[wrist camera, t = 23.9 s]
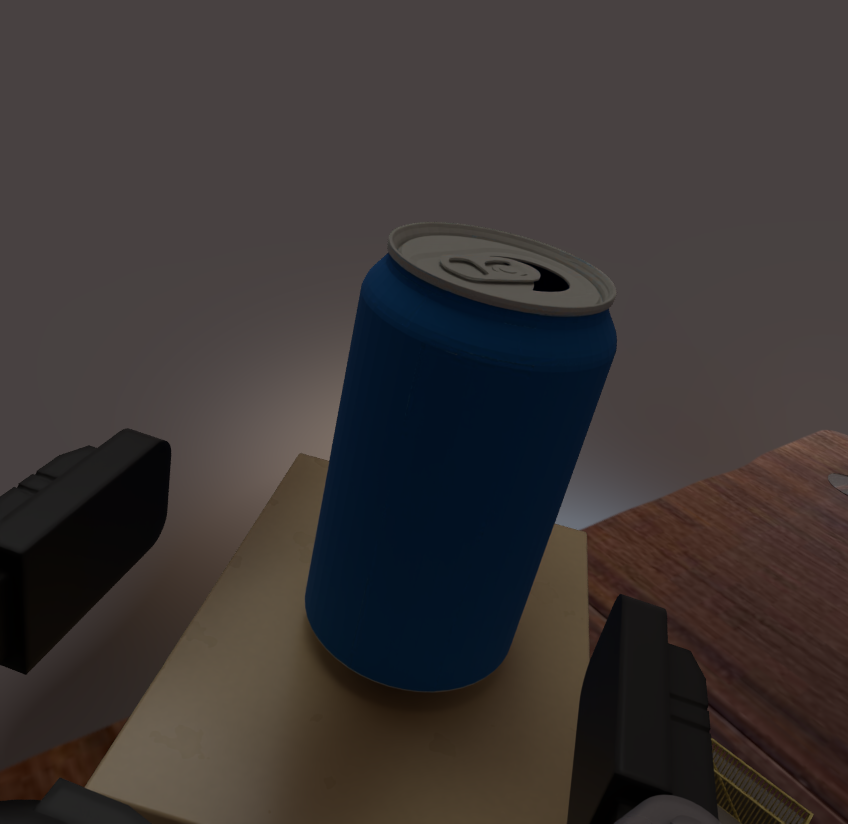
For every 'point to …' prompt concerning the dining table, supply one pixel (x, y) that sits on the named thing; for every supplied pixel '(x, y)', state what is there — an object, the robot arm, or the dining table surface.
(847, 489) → the wineglass
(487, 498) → the beverage can
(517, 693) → the stool
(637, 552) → the dining table surface
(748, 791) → the platform
